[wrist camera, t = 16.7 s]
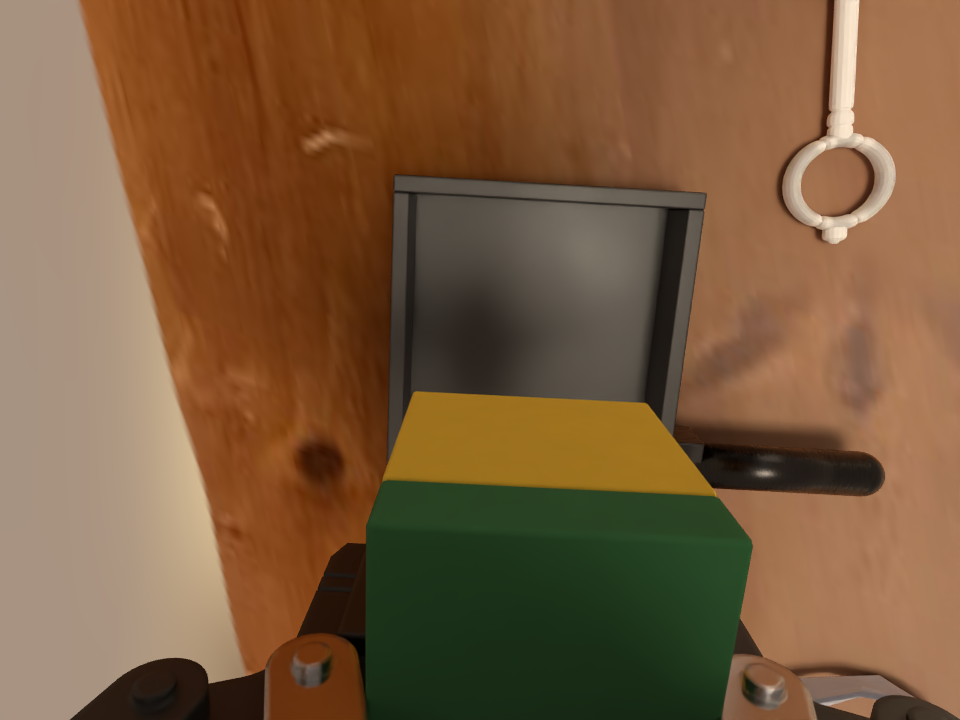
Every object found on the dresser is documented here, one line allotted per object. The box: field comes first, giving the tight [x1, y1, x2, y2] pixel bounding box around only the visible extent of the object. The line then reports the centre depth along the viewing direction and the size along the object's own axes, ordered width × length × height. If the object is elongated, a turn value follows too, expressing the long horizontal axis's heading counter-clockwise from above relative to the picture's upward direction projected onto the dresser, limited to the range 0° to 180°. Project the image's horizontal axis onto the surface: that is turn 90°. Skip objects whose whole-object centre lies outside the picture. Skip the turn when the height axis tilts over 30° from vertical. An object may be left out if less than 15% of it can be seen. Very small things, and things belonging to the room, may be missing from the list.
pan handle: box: [673, 426, 885, 496], centre depth 26 cm, size 2×9×2 cm, turn 87°
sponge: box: [365, 391, 753, 720], centre depth 10 cm, size 7×4×5 cm, turn 177°
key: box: [782, 0, 896, 244], centre depth 24 cm, size 12×1×4 cm
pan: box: [387, 174, 707, 465], centre depth 26 cm, size 21×11×3 cm, turn 177°
